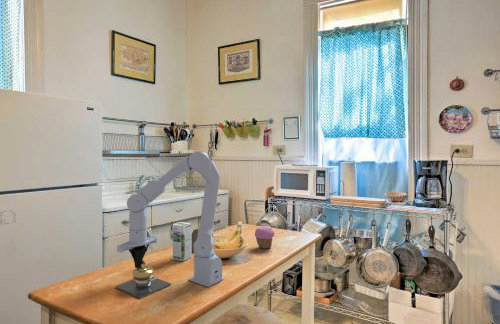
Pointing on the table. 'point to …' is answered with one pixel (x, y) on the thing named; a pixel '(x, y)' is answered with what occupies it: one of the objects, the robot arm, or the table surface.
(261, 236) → the cupcake
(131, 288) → the dark grey plate
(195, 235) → the vase
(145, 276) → the brass lever handle
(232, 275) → the table surface
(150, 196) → the robot arm
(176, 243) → the syrup box
